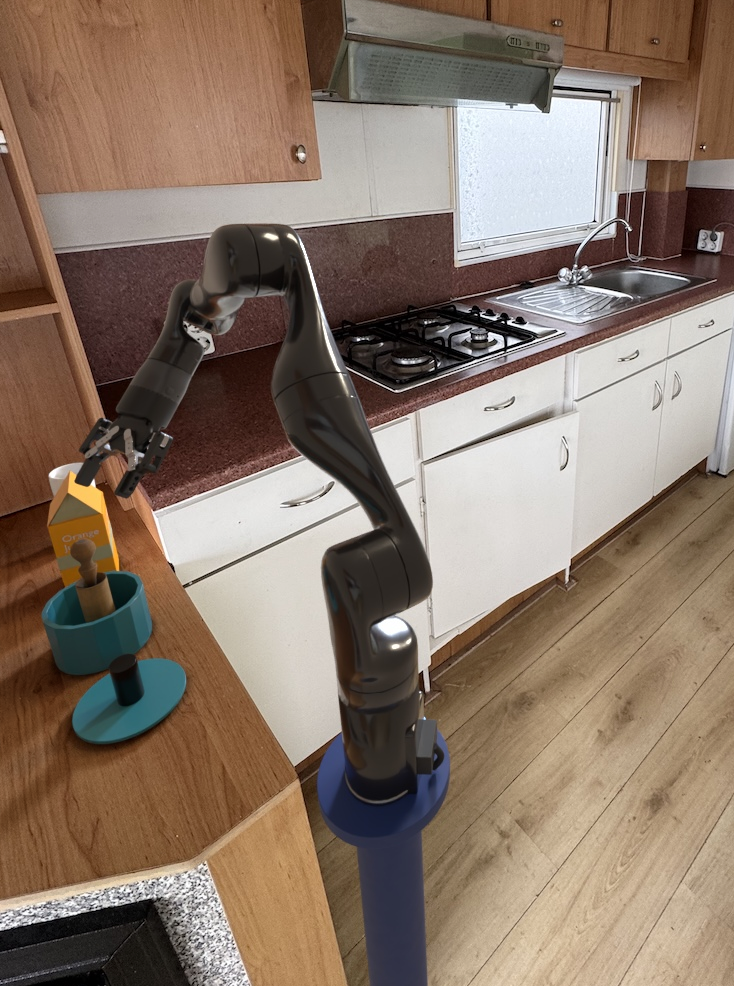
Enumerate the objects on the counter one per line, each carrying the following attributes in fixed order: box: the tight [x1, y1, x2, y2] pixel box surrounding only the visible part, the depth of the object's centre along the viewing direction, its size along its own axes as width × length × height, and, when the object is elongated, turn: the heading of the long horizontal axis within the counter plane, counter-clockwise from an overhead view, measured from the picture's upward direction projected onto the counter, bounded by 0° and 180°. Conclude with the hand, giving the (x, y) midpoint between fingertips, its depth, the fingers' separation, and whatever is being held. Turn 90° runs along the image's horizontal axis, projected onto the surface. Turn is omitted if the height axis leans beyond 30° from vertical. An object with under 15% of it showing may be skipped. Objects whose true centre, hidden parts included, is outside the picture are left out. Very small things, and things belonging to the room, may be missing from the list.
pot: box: [40, 570, 153, 676], centre depth 89 cm, size 13×13×8 cm
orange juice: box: [46, 471, 120, 588], centre depth 101 cm, size 8×9×20 cm
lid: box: [71, 654, 187, 745], centre depth 79 cm, size 13×13×7 cm
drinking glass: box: [48, 462, 97, 498], centre depth 113 cm, size 7×7×15 cm
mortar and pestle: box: [70, 539, 116, 623], centre depth 87 cm, size 7×6×18 cm
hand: (100, 490), depth 86 cm, fingers open, 8 cm apart
